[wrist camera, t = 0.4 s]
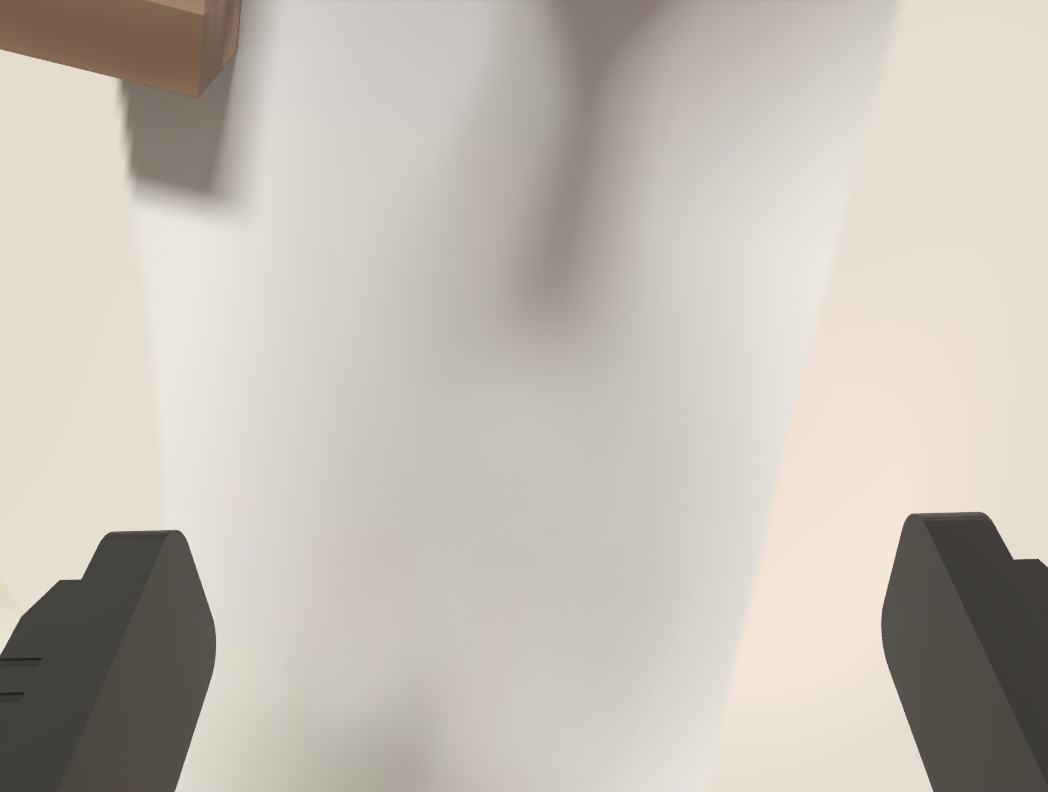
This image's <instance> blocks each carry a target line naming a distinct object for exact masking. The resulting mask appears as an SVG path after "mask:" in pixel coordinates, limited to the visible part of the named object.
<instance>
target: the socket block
mask: <svg viewBox="0 0 1048 792" xmlns="http://www.w3.org/2000/svg"><path fill="white" fill-rule="evenodd" d="M240 10H241V0H0V49H2V50H6V51H10V52H14V53H18V54H22V55H26V56H30V57H34V58H38V59H42V60H47V61H50V62H54V63H59V64H63V65H67V66H71V67H75V68H79V69H83V70H87V71H91V72H95V73H99V74H104V75H107V76H111V77H116V78H120V79H124V80H128V81H132V82H136V83H140V84H144V85H148V86H152V87H156V88H160V89H164V90H168V91H173V92H177V93H181V94H185V95H189V96H193V97H197V98H198V97H199V96H200V95H201V93H202V92H203V91H204V90H205V89H206V87H207V86H208V85H209V84H210V83H211V81H212V80H213V79H214V78H215V77H216V75H217V74H218V73H219V72H220V71H221V69H222V68H223V67H224V66H225V65H226V64H227V62H228V61H229V60H230V59H231V58H232V56H233V55H234V54H235V53H236V52H237V43H238V32H239V21H240Z"/></svg>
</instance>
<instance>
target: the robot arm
mask: <svg viewBox="0 0 1048 792" xmlns="http://www.w3.org/2000/svg"><path fill="white" fill-rule="evenodd" d="M881 627H882V628H881V629H882V641H883V648H884V653H885V657H886V661H887V664H888V667H889V670H890V673H891V676H892V678H893V681H894V684H895V686H896V689H897V692H898V695H899V698H900V701H901V703H902V706H903V709H904V712H905V714H906V717H907V720H908V723H909V725H910V728H911V731H912V734H913V736H914V739H915V742H916V745H917V747H918V750H919V753H920V756H921V758H922V761H923V764H924V766H925V770H926V772H927V775H928V778H929V781H930V783H931V786H932V789H933V791H934V792H1048V567H1046V566H1045V565H1044V564H1043V563H1042V562H1041V561H1040V560H1039V559H1020V560H1013V558H1012V556H1011V554H1010V553H1009V551H1008V549H1007V547H1006V545H1005V543H1004V542H1003V540H1002V538H1001V536H1000V534H999V532H998V531H997V529H996V527H995V525H994V524H993V522H992V521H991V519H990V518H989V517H988V516H987V515H986V514H984V513H982V512H962V513H961V512H959V513H921V514H911V515H909V516H908V517H907V519H906V521H905V522H904V526H903V529H902V532H901V536H900V541H899V544H898V548H897V552H896V557H895V560H894V564H893V568H892V572H891V576H890V580H889V584H888V588H887V592H886V596H885V600H884V604H883V609H882V622H881ZM215 654H216V634H215V626H214V621H213V618H212V614H211V611H210V608H209V605H208V602H207V599H206V596H205V593H204V590H203V587H202V584H201V581H200V578H199V575H198V572H197V569H196V566H195V563H194V560H193V557H192V554H191V551H190V548H189V545H188V542H187V540H186V538H185V536H184V535H183V534H182V533H181V532H180V531H178V530H161V531H124V532H123V531H121V532H110V533H108V534H107V535H105V537H104V538H103V539H102V540H101V542H100V544H99V545H98V547H97V550H96V551H95V553H94V555H93V558H92V559H91V562H90V563H89V565H88V567H87V569H86V571H85V573H84V575H83V577H82V579H81V580H59V581H58V582H57V583H56V584H55V585H54V586H53V587H52V588H51V589H50V590H49V591H48V592H47V593H46V594H45V595H44V596H43V597H42V598H41V599H40V600H38V601H37V602H36V604H34V605H33V606H32V607H31V608H30V609H29V610H28V611H27V612H26V613H25V614H24V615H23V616H22V617H21V619H20V620H19V622H18V624H17V626H16V628H15V630H14V631H13V633H12V635H11V637H10V639H9V641H8V642H7V644H6V646H5V648H4V650H3V652H2V653H1V655H0V792H175V789H176V786H177V783H178V780H179V777H180V774H181V771H182V767H183V764H184V761H185V758H186V755H187V752H188V749H189V746H190V743H191V739H192V736H193V733H194V730H195V727H196V724H197V721H198V718H199V715H200V711H201V708H202V705H203V702H204V699H205V696H206V693H207V690H208V687H209V683H210V680H211V677H212V673H213V669H214V663H215Z"/></svg>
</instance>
